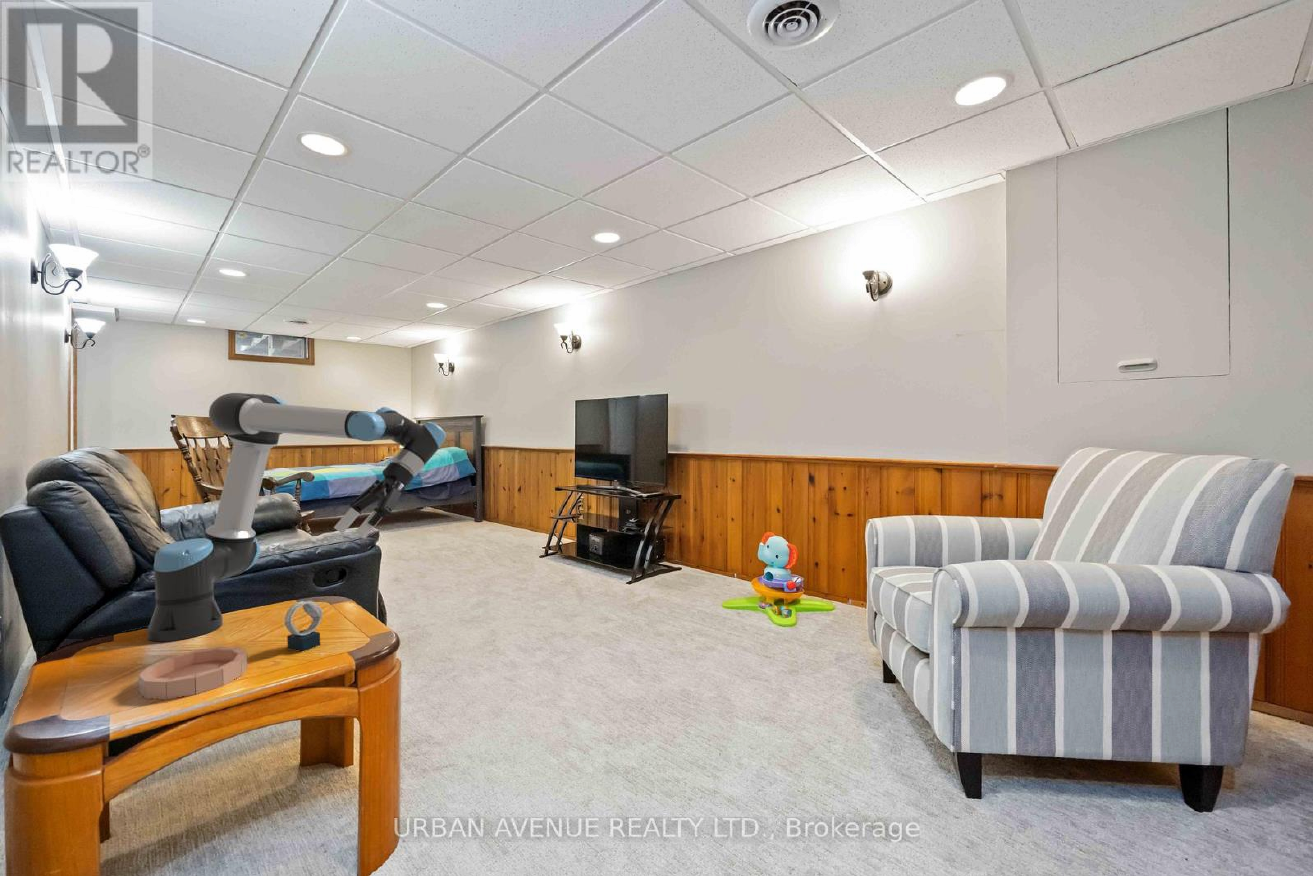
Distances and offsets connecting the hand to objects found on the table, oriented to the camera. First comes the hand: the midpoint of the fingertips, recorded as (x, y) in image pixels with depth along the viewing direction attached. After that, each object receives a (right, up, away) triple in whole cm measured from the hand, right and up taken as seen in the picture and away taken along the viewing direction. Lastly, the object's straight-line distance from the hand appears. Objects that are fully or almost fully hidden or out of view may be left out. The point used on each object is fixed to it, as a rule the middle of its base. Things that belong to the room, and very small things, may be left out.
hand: (348, 533), depth 142 cm
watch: (-7, -27, -8) cm, 29 cm away
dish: (-19, -27, -25) cm, 41 cm away
